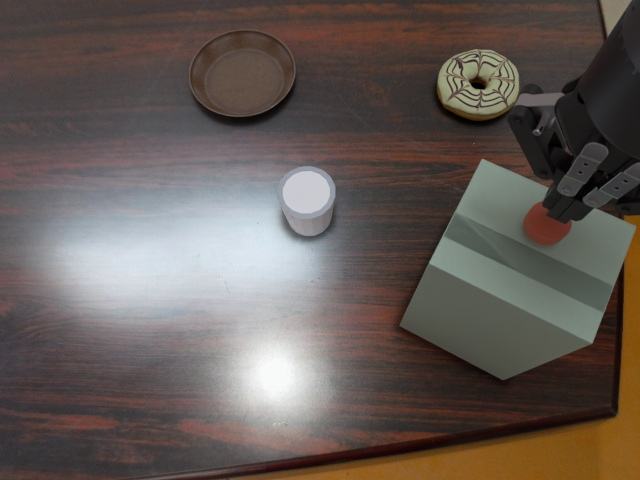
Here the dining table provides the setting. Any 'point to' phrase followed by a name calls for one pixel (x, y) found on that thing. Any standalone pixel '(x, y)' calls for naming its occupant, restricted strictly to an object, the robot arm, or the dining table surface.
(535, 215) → the brew button
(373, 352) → the dining table surface
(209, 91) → the saucer
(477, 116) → the decorated donut
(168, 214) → the dining table surface
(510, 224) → the box with red button
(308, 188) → the white short cylinder
